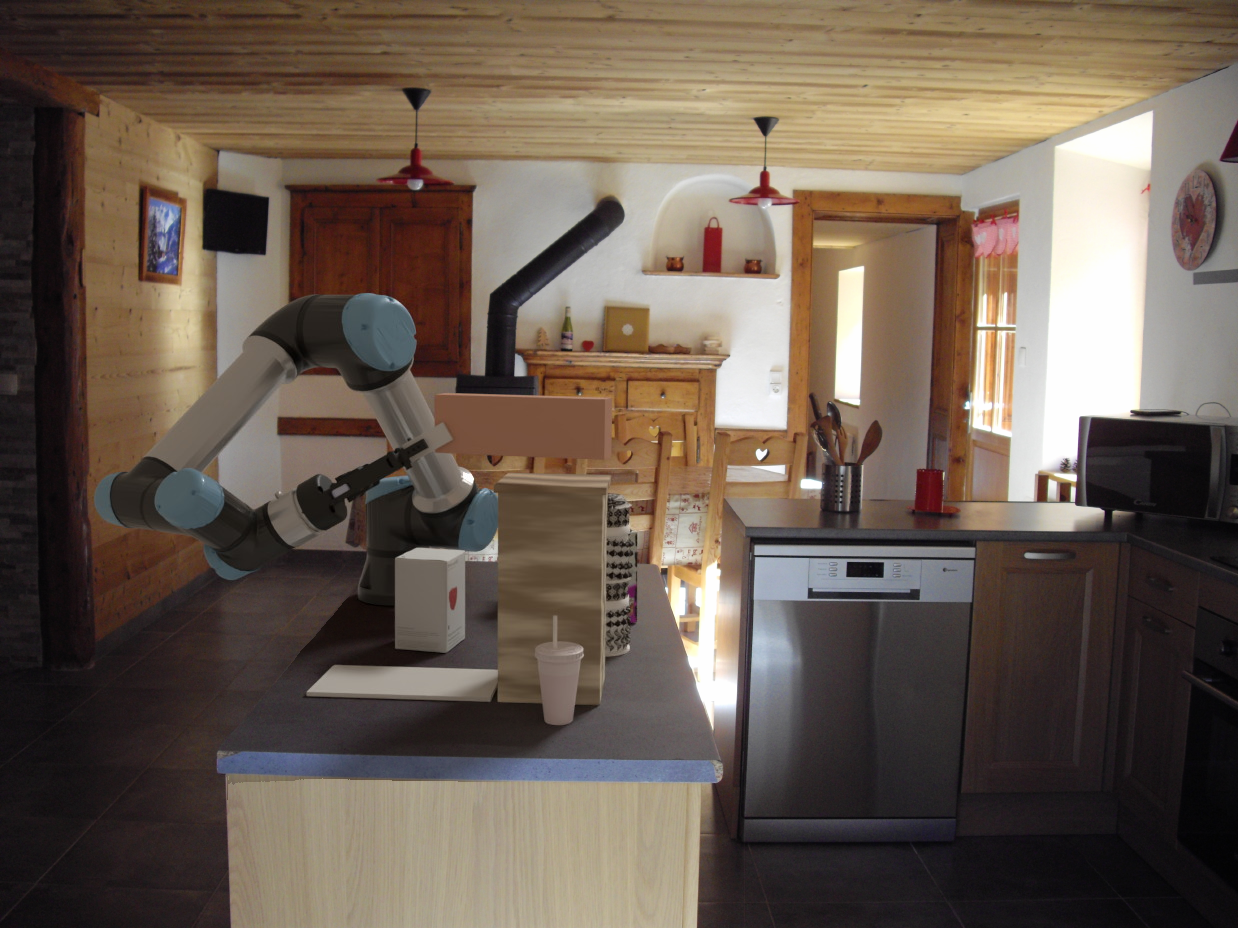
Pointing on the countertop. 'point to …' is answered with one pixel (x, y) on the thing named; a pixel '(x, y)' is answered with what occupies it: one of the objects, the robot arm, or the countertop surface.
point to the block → (526, 425)
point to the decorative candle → (617, 576)
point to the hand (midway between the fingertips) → (451, 429)
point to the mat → (407, 683)
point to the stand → (551, 578)
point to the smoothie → (558, 677)
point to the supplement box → (429, 599)
